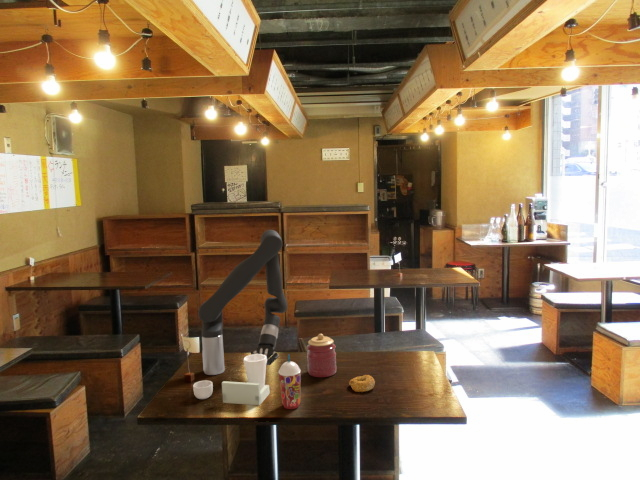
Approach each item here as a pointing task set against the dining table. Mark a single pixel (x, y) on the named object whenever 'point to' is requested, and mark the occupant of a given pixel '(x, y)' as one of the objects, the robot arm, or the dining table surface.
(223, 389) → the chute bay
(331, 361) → the canister
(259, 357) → the foam cup
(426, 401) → the dining table surface
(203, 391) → the teacup
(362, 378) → the bagel
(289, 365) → the smoothie
